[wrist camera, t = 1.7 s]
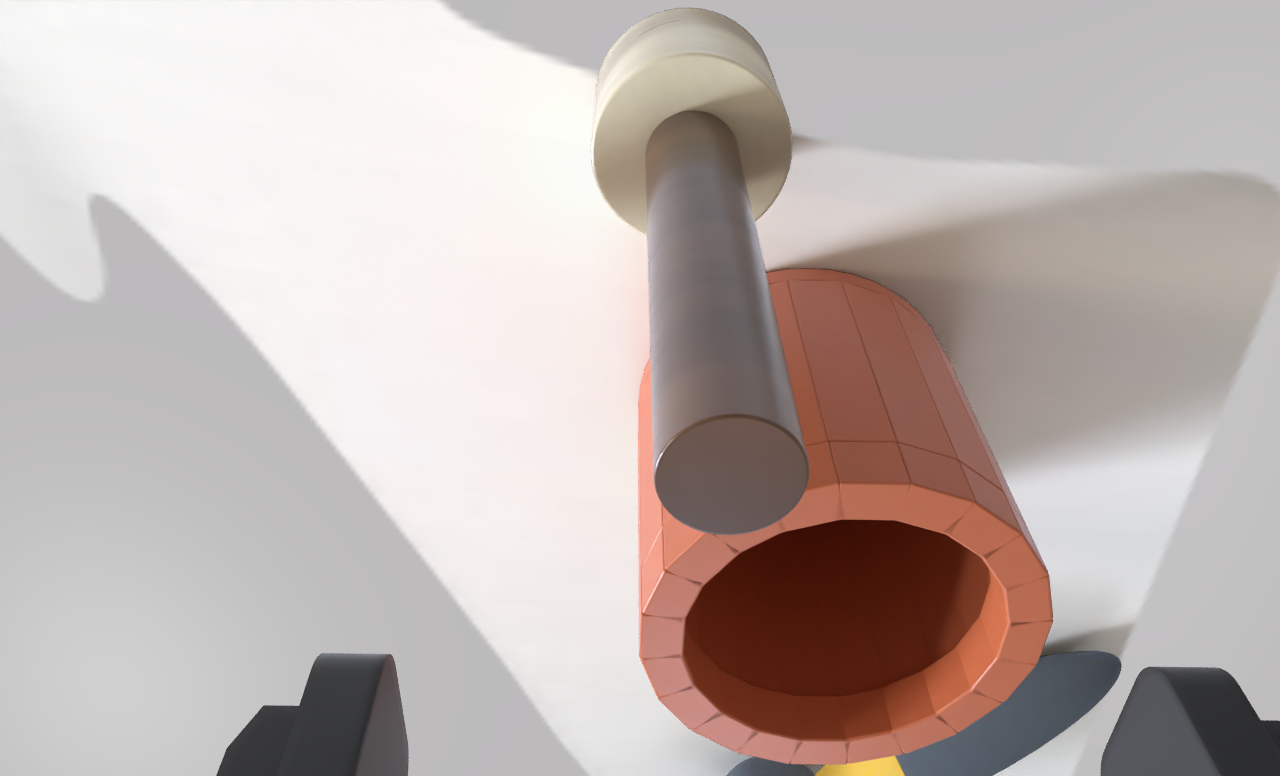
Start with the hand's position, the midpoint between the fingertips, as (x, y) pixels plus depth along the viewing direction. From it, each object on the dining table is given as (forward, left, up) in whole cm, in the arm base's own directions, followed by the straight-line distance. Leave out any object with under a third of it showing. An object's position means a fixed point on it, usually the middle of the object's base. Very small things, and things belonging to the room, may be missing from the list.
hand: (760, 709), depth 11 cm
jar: (+10, +4, -20) cm, 23 cm away
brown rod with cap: (0, 0, -20) cm, 20 cm away
